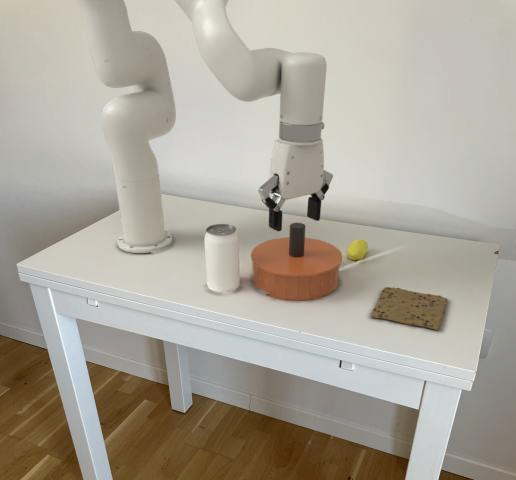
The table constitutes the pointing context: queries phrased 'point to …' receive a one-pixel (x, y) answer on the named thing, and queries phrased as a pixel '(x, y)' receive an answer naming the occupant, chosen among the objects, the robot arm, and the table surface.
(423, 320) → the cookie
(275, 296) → the pot
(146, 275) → the table surface
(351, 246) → the lemon
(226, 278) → the can
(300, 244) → the lid
